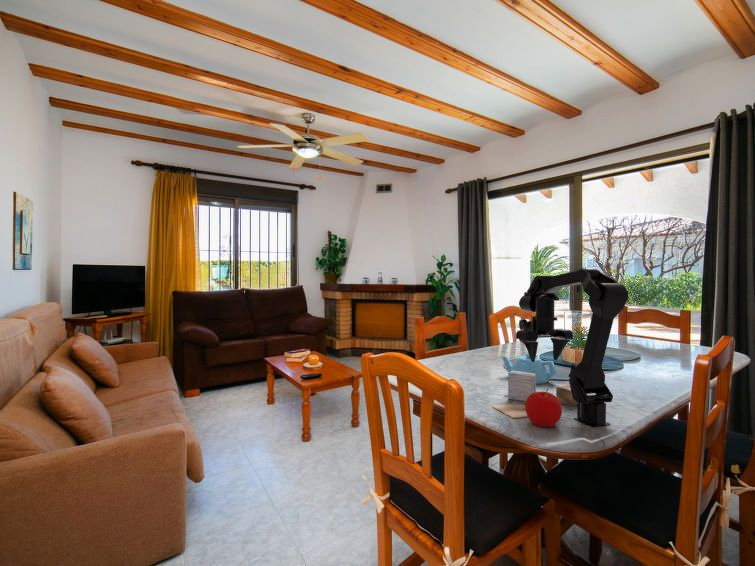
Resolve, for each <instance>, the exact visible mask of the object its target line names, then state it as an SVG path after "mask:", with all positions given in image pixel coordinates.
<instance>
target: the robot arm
mask: <svg viewBox="0 0 755 566" xmlns="http://www.w3.org/2000/svg"><path fill="white" fill-rule="evenodd" d="M578 285H582V286H581V287H582V290H583V292H584V293H585V294H586V295H587V296H588V297H589V298H588V305H589V308H590V311H591V312H592V316H591V320H590V324H589V328H588V332H587V335H586V336H587V337H586V341H585V345H584V348H583V353H582V358H581V359H580V360H581V361H580V362H579V363H572V364H571V366H570V371H569V374H568V379H569V380H568V383H569V384H568V385H570V388H571V393H572V397H573V399H574V400H576V402H578V403H577V405H576V412H577V413H576V417H573V420H575V421H577V422H579V423H580V424H583V425H586V426H588V427H590V428H592V429H593V428H594V429H595V428H600V427H601V428H602V427H608V426H611V423H609V422H607V403H612V402H613V398H614V395H613V394H612V392H611V390H610V389H609V387H608V386H607V385H606V383H605V382H606V373H605V371H604V369H603V363H604V359H605V354H606V350H607V347H608V343H609V338H610V335H611V331H612V326H613V323H614V319H615V318H616V316H618V315H619V314H620V312H622V311H623V310H624V308H625V306H626V304H627V302H628V298H629V291H628V290H627V287H625V285H623V284H622V283H619V282H618V281H617V280H616V279H613V278H612V277H611V276H610V277H609V276H607V275H606V274H604V273H603V272H601V271H600V270H599V269H597V268H595V267H592V268H591V267H590V268H586V267H582V268H579V269H577V270H573V271H569V272H565V273H561V274H556V275H535V276H534V277H533V279H532V281H531V283H530V286H529V288H528V289H527V291H524V293H523V296H521V297H520V299H519V301H518V306H519V308H520V309H521V310H522V311H525V312H530V313H531V312H532V313H535V315H532V317H531V320H527V319H519V322H518V329H520V330H517V331H516V332H515V339H516V340H518V341H519V342H520V343H522V344H523V345H524V346H525V348H526V351H527V353H528V354H529V356H530V359H531V361H532V362H535V358H536V356H537V354H538V352H537V351H538V346H539V341H537V340H539V339H541V338H545V339H546V338H549V339H550V341H551V343H552V357H553V361H558V359H559V357H560V356H561V354H562V352H563V351H564V349H565V347H566V346H567V345H568V343H569V342H571V340H574V333H573V331H572V330H571V329H564V328H555V321H558V317H557V316H555V304H556V303H555V301H556V302H557V301H560V298H559V296H557V295H556V294H555V293H558V292H559V291H561V290H562V289H563V288H566V287H572V286H578Z"/></svg>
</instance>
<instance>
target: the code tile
mask: <svg viewBox="0 0 755 566" xmlns="http://www.w3.org/2000/svg"><path fill="white" fill-rule="evenodd" d="M503 397H505V398H507V399H508V394H506V395H505V394H504V395H503ZM510 400H511V401H513V402H515V403H520V404H522V405H525V403H526V402H525V401H519V400H513V399H510Z"/></svg>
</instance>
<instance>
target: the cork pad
mask: <svg viewBox="0 0 755 566" xmlns="http://www.w3.org/2000/svg"><path fill="white" fill-rule="evenodd" d="M492 408H493V409H495V410H497V411H499V412H500V413H502V414H505V415H506V416H507V417H509V418H511V419H513V420H515V419H523V418H528V416H527V413H526V410H525V405H522V404H520V403H518V402H515V403H507V404H498V405H492Z"/></svg>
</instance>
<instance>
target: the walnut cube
mask: <svg viewBox="0 0 755 566" xmlns="http://www.w3.org/2000/svg"><path fill="white" fill-rule="evenodd" d="M555 388H556V389H555V393H556V394H555V396H556V397H557V399H558V400H559V402H560V404H561V405H565V406H567V407H571V408H572V407H574V406H577V403H578V402H576V400H574V399H573V397H572V393H571V388H570V384H562V385H557V386H556V387H555Z"/></svg>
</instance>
